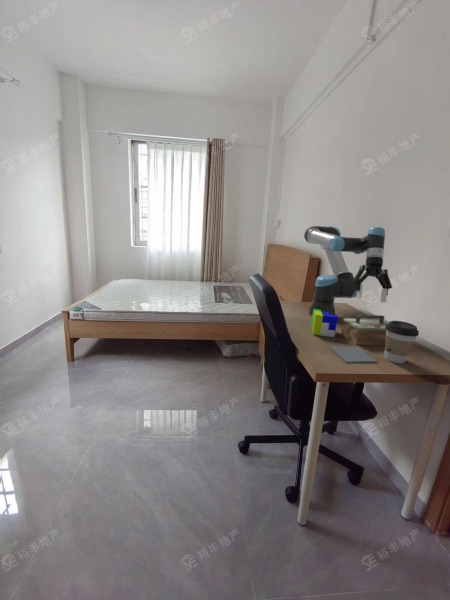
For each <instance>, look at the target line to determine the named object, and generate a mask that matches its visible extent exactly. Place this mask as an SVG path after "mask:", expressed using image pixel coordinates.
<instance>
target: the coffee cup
mask: <svg viewBox="0 0 450 600" xmlns="http://www.w3.org/2000/svg"><path fill="white" fill-rule="evenodd" d="M385 329H386V341H385V345H384V358H385V360H386V361H389V362H391V363H394V364H405V363H404V362H406V361H407V360H408V357H409V356H410V352H411V350H412V348H413V345H414V343H415V341H416V338H417V337H418V336H419V333H420V331H419V330H418V327H417V326H416V325H415V324H412V323H411V322H410V323H409V322H406V321H401V320H390V321H389V322H388V324H387V325H386V327H385Z"/></svg>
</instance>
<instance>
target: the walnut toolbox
mask: <svg viewBox="0 0 450 600" xmlns="http://www.w3.org/2000/svg"><path fill="white" fill-rule="evenodd" d="M342 320H343V321H342V326H341V332H340V334H341V335H342V336H344V337H345V338H346V339H348V340H349V341H351V342H352V343H353V344H354V345H358V346H359V345H364V346H365V345H366V346H367V345H368V346H369V345H370V346H371V345H383V346H385V341H386V329H385V327H386V325H387V324H389V322H385V315H378V314H377V315H374V314H373V315H371V314H370V315H369V314H368V315H367V314H364V315H363V314H362V315H361V314H358V315H357V314H356V318H355V317H354V318H353V317H351V318H350V317H348V318H347V317H345V318H344V317H343V318H342Z"/></svg>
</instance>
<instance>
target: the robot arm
mask: <svg viewBox="0 0 450 600" xmlns="http://www.w3.org/2000/svg"><path fill="white" fill-rule="evenodd" d="M341 235H342V234H341V231H340V229H339V228H338V227H335V226H323V225H321V226H320V225H314V226H310V227H308V228H307V229H306V230H305V231H304V236H303V237H304V240H305V241H306V242H307V244H308V243H309V244H314V245H319V246H320V248H321V249H322V250H324V251H325V254H326V257H327V260H328V262H329V264H330V268H331V271H332V274H333V275H332V274H323V275H320V276H317V278H316V280H315V284H314V293H313V299H312V302H311V304H310V306H309V308H308V312H309V313H308V314H309V315H310V314H311V316H312V315H313V309H318V310H327V311H334V312H335V313H336V309H335V298H336V299H354V298H357V299H360V298H362V295H363V284H362V283H363V282H364V281H366V279H367V278H368V277H372V278H375V279H376V280H378V282H379V284H380V286H381V287H382V289H381V291H380V292H381V293H380V295H381V296H380V303H387V296H388V295H389V290H390V289H392V288H393V286H392V283H391V280H390V276H389V273H388V269H386V268H385V269H382V267H383V265H384V264H383V263H384V252H385V241H386V240H385V238H386V230H385V228H384V227H381V226H374V227H371V228H369V229H368V232H367V235H365V236H363V237H349V236H348V237H345V236H341ZM342 252H348V253H353V254H355V255H360V254H364V253H366V254H365V255H366V256H365V264H362V265H360V266H359V269H358V271H357V274H355V276H354V274H353V273H352V272H350V271H349V268H348V267H347V263H346V261H345V259H344V256H343V254H342ZM364 272H365V273H364ZM363 273H364V274H363Z"/></svg>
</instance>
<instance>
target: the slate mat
mask: <svg viewBox="0 0 450 600" xmlns="http://www.w3.org/2000/svg"><path fill="white" fill-rule="evenodd" d="M329 349H330V350H331V351H332V352H333V353H334V354H336V356H338V357H339V359H341V360H342V361H343V362H344V363H345V364H357V363H358V364H361V363H363V364H364V363H368V364H369V363H371V364H372V363H373V364H374V363H375V364H377V363H378V360H377V359H376V358H374V357H373V356H371V355H370V354H368V353H367V352H365V350H363V349H362V348H360V347H359V346H329Z"/></svg>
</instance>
